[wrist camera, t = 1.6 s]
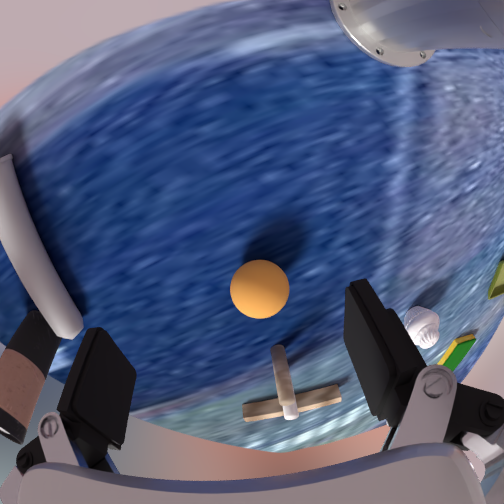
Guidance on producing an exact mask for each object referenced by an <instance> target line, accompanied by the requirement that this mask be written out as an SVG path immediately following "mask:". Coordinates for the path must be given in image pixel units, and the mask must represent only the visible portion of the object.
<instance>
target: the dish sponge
mask: <svg viewBox="0 0 504 504" xmlns="http://www.w3.org/2000/svg"><path fill="white" fill-rule="evenodd" d="M475 341H476V338H475V337H474V336H473V334H471V335H467V336H464V337H460V338H456V339H455V340H454V341H453V343H452V344H451V346H450V347H449V348H448V350H447V351H446V353H445V354H444V356H443V357H442V358H441V360H440V361H439V362H438V365H443V366H446V367H448V368H449V369H450V370H451V371H452V372H453V371H454V370H455V368H456V367H457V366H458V364H459V363H460V362H461V361H462V359H463V358H464V357H465V355H466V354H467V352H468V351H469V350H470V348H471V347H472V345H473V344H474V343H475Z"/></svg>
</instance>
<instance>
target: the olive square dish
mask: <svg viewBox="0 0 504 504" xmlns="http://www.w3.org/2000/svg"><path fill="white" fill-rule="evenodd" d="M501 294H504V260H502V261H500V262H499V264H498V267H497V269H496V272H495V275H494V277H493V280H492V282H491V285H490V287H489V290H488V299H489V300H490V299H493V298H495V297H497V296H499V295H501Z"/></svg>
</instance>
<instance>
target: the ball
mask: <svg viewBox="0 0 504 504" xmlns="http://www.w3.org/2000/svg"><path fill="white" fill-rule="evenodd" d="M230 292H231V297H232V300H233V302H234V304H235V306H236V307H237V308H238V309H239V310H240V311H241V312H242V313H244V314H245V315H247V316H249V317H253V318H267V317H270V316H272V315H274V314H276V313H277V312H279V311H280V310H281V309H282V308H283V306H284V305H285V303H286V301H287V299H288V295H289V283H288V279H287V277H286V275H285V273H284V272H283V270H282V269H281V268H280V267H279V266H277V265H276V264H274V263H272V262H270V261H267V260H253V261H250V262H247V263H245V264H244V265H242V266H241V267H240V268H239V269H238V270H237V271H236V273H235V274H234V276H233V278H232V281H231V287H230Z"/></svg>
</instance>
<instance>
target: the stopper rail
mask: <svg viewBox="0 0 504 504" xmlns="http://www.w3.org/2000/svg"><path fill="white" fill-rule="evenodd" d="M295 399H296V404H297V409H298V412H303V411H307V410H311V409H315V408H319V407H323V406H327V405H330V404H334V403H337V402H341V394H340V391H339V388H338V385H337V384H335V385H332V386H328V387H324V388H321V389H317V390H313V391H309V392H305V393H300V394H296V395H295ZM242 408H243V418H244V420H245V421H246V422H249V421H256V420H262V419H268V418H274V417H279V416H284V412H283V406H282V405H280V404H279V398H277V399H272V400H267V401H261V402H255V403H249V404H243V405H242Z"/></svg>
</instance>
